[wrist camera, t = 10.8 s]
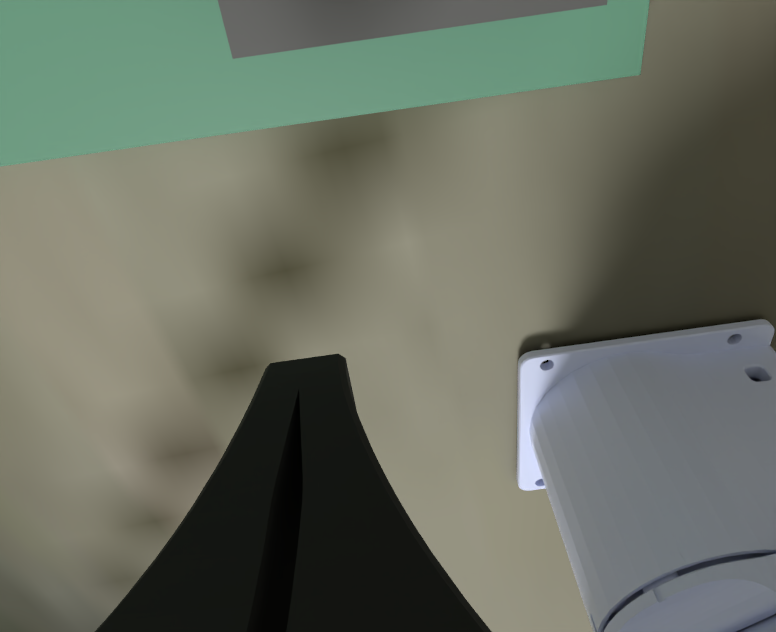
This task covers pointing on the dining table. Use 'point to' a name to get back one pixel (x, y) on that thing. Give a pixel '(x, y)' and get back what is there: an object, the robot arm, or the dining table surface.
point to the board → (281, 63)
